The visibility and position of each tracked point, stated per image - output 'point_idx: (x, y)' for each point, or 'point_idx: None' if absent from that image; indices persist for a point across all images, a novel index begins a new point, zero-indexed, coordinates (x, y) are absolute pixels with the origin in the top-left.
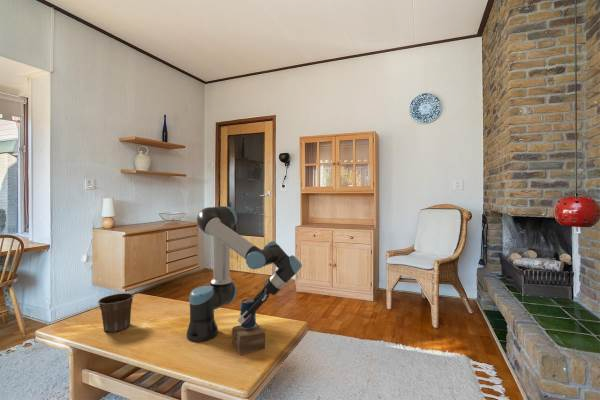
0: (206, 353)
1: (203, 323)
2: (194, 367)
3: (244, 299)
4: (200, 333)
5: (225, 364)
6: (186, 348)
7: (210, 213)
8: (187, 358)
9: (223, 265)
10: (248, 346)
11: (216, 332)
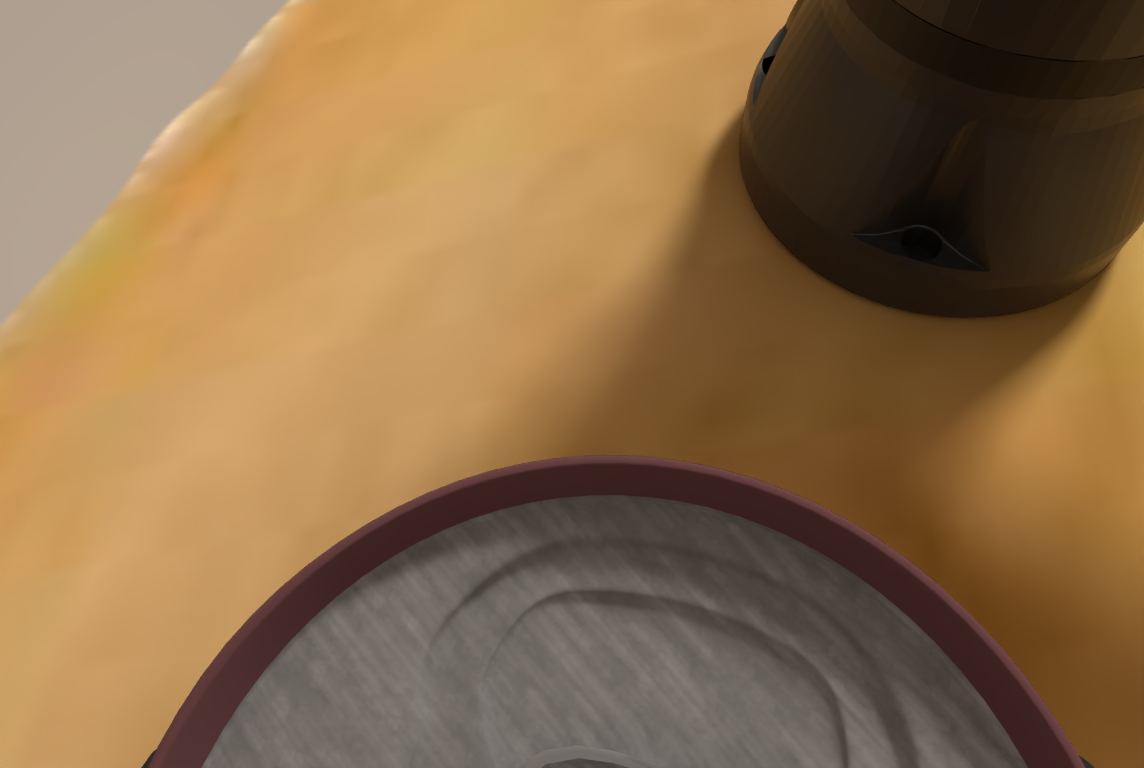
0: (462, 302)
1: (848, 29)
2: (196, 256)
3: (924, 598)
4: (772, 106)
5: (150, 571)
6: (599, 95)
7: None
8: (391, 155)
9: None
10: None
11: (937, 292)
